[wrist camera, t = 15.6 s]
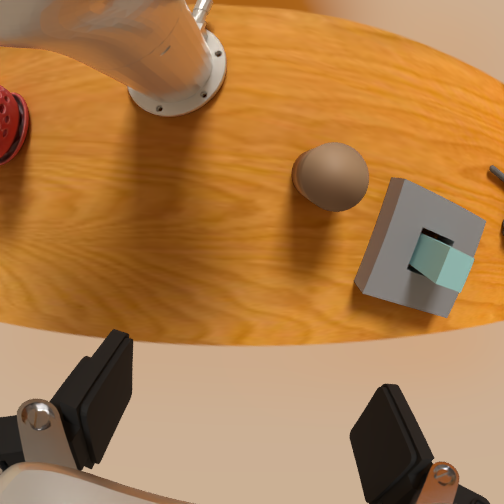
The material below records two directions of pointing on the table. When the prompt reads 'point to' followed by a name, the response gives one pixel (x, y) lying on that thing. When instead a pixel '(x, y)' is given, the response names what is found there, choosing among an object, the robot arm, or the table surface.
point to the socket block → (404, 242)
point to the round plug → (331, 176)
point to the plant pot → (12, 124)
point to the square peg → (441, 262)
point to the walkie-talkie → (499, 175)
